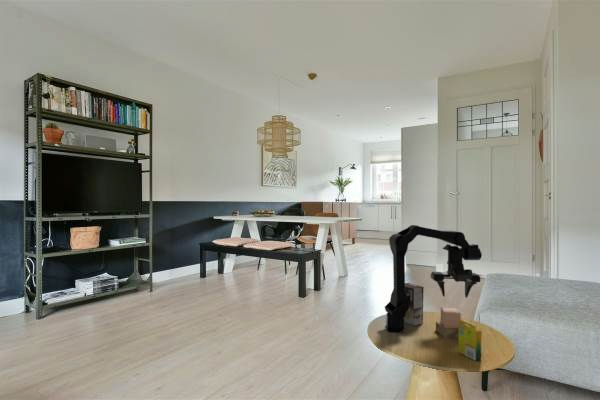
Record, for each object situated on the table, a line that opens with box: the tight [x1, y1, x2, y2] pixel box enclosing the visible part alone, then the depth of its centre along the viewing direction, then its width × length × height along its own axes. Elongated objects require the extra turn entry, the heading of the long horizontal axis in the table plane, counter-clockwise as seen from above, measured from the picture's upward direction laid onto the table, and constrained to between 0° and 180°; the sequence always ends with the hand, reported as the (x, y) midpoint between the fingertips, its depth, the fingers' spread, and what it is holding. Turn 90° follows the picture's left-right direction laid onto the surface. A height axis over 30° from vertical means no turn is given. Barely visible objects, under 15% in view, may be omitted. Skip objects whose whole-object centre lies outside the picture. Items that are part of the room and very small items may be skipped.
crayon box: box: [458, 319, 482, 361], centre depth 119 cm, size 7×3×12 cm, turn 21°
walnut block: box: [435, 320, 459, 340], centre depth 138 cm, size 9×9×4 cm
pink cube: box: [440, 307, 462, 328], centre depth 138 cm, size 6×6×6 cm
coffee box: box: [404, 282, 424, 326], centre depth 152 cm, size 9×6×16 cm
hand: (454, 297), depth 145 cm, fingers open, 9 cm apart
